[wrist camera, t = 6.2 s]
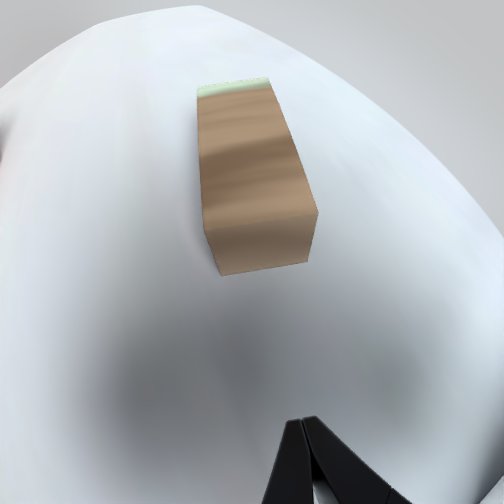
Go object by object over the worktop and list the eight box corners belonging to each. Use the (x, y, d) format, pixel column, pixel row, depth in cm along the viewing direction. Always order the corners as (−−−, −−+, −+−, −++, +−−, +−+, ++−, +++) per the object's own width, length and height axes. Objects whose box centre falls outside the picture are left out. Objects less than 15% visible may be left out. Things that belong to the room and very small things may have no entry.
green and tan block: (318, 213, 13) (267, 77, 18) (203, 231, 13) (196, 87, 18) (307, 261, 17) (269, 128, 23) (221, 276, 17) (208, 138, 23)
